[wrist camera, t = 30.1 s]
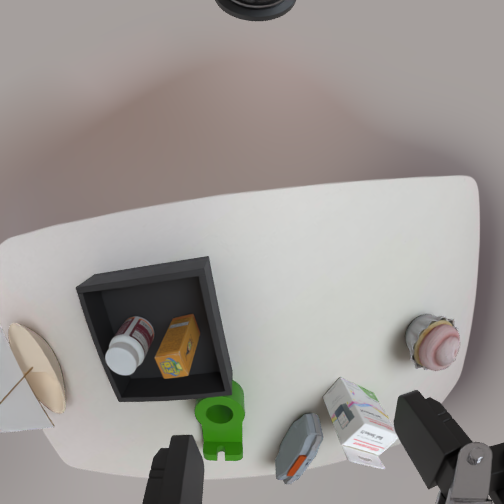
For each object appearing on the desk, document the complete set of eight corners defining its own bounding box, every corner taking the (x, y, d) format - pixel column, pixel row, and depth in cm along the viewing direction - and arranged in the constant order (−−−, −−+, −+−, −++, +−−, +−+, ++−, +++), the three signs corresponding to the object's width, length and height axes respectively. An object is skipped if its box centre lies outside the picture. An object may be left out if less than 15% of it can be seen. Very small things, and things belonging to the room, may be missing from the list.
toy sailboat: (33, 507, 19) (-5, 491, 19) (88, 402, 44) (54, 402, 43) (-68, 373, 15) (-90, 369, 14) (40, 294, 39) (7, 301, 39)
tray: (94, 274, 39) (75, 287, 33) (208, 256, 39) (204, 268, 33) (129, 379, 43) (118, 401, 37) (232, 371, 43) (232, 395, 37)
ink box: (375, 391, 46) (410, 449, 31) (356, 411, 46) (385, 471, 32) (340, 375, 44) (372, 438, 30) (320, 396, 45) (345, 462, 30)
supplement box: (169, 317, 40) (152, 356, 30) (193, 312, 40) (182, 350, 30) (177, 338, 40) (163, 380, 31) (201, 334, 40) (192, 376, 31)
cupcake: (433, 353, 45) (463, 383, 35) (390, 357, 44) (419, 391, 34) (448, 304, 43) (485, 328, 33) (405, 304, 42) (441, 332, 32)
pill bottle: (124, 343, 40) (104, 374, 32) (122, 313, 39) (99, 341, 31) (155, 347, 41) (140, 381, 32) (154, 317, 40) (137, 348, 31)
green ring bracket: (195, 376, 43) (192, 395, 38) (243, 377, 43) (244, 396, 39) (203, 441, 46) (201, 460, 42) (243, 441, 46) (244, 460, 42)
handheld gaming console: (285, 458, 48) (291, 490, 40) (271, 457, 48) (275, 489, 40) (317, 407, 45) (328, 439, 38) (301, 404, 45) (310, 438, 37)
